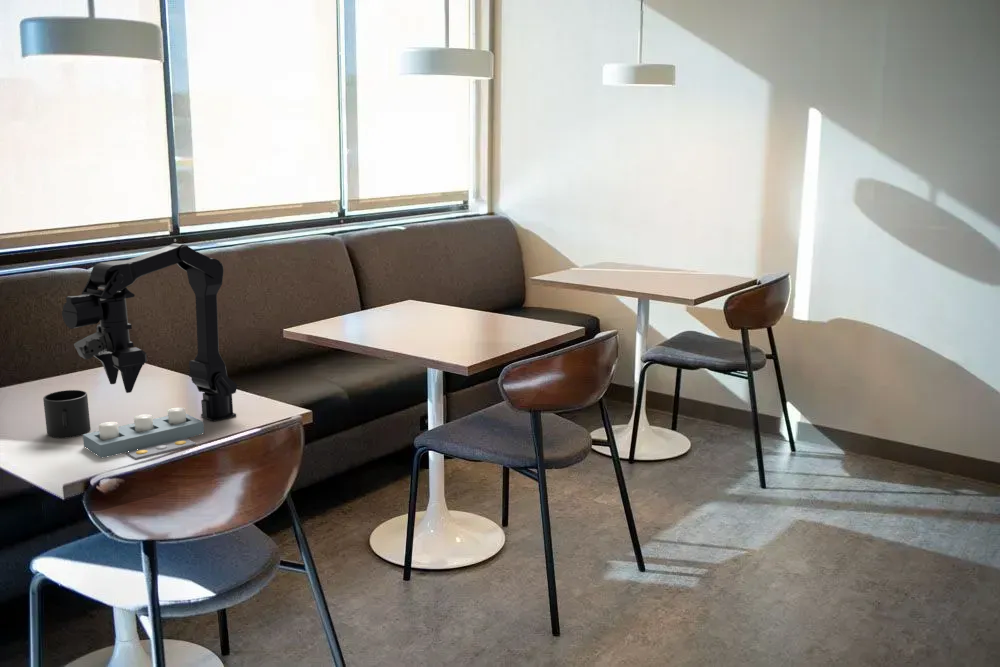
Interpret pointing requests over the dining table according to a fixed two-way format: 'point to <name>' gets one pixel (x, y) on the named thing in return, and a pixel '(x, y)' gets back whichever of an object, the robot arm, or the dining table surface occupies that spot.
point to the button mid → (143, 423)
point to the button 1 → (108, 430)
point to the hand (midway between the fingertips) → (120, 388)
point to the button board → (143, 436)
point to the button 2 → (176, 415)
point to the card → (160, 448)
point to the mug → (66, 413)
